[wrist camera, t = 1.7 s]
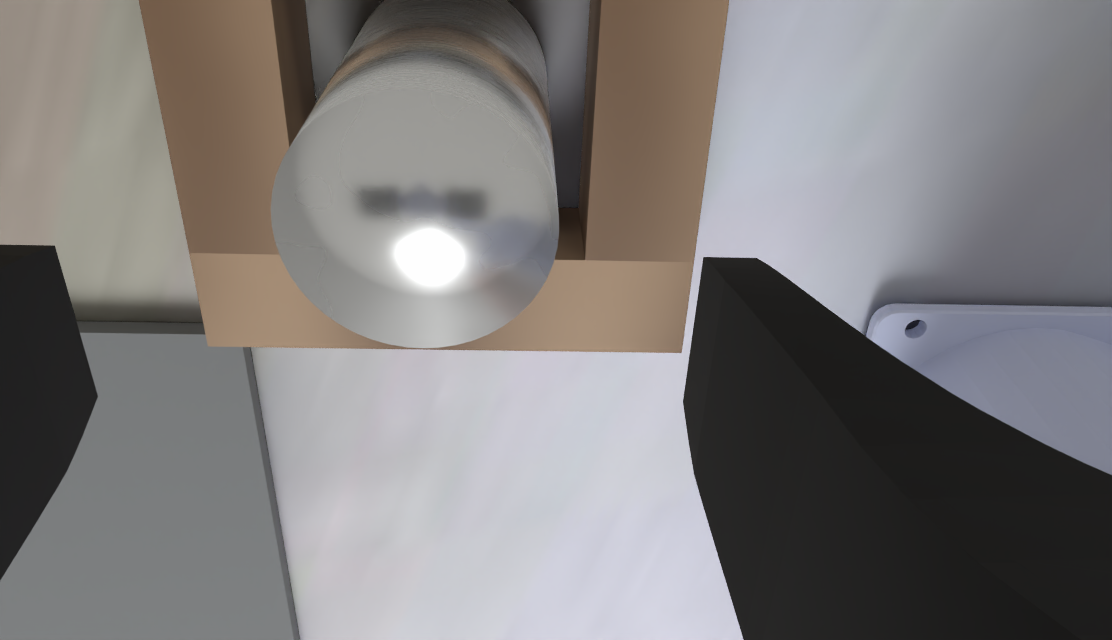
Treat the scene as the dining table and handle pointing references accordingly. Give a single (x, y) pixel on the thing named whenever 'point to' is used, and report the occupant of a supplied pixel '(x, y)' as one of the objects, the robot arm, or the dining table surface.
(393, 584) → the dining table surface
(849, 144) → the dining table surface
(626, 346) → the holder
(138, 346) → the mat
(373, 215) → the plug
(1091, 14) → the dining table surface
